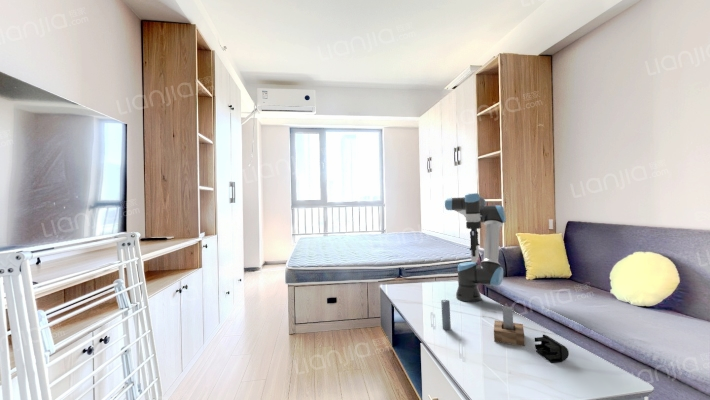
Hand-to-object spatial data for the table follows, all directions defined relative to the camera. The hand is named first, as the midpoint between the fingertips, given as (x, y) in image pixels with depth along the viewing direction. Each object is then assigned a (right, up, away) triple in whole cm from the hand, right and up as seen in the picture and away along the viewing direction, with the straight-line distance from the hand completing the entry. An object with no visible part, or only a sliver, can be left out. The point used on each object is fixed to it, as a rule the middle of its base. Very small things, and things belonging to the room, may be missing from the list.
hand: (475, 259), depth 160 cm
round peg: (-20, -32, -13) cm, 40 cm away
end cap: (+13, -31, -42) cm, 54 cm away
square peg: (+5, -31, -26) cm, 41 cm away
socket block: (+5, -31, -26) cm, 41 cm away
